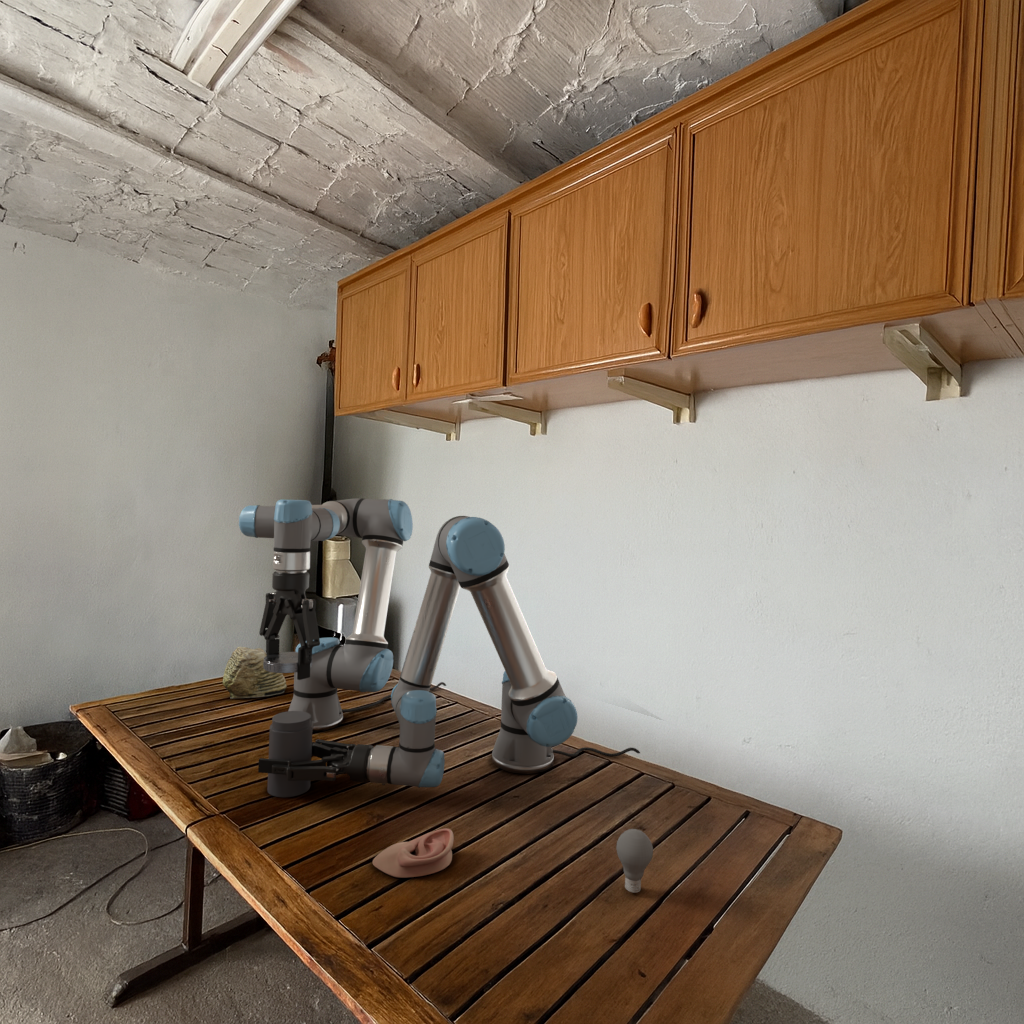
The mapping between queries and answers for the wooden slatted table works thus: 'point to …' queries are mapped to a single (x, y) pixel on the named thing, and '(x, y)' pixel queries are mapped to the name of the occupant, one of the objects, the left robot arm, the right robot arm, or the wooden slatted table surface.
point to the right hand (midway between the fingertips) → (269, 756)
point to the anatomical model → (417, 855)
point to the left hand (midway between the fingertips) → (287, 673)
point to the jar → (289, 750)
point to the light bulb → (634, 857)
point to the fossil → (251, 675)
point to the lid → (282, 662)
